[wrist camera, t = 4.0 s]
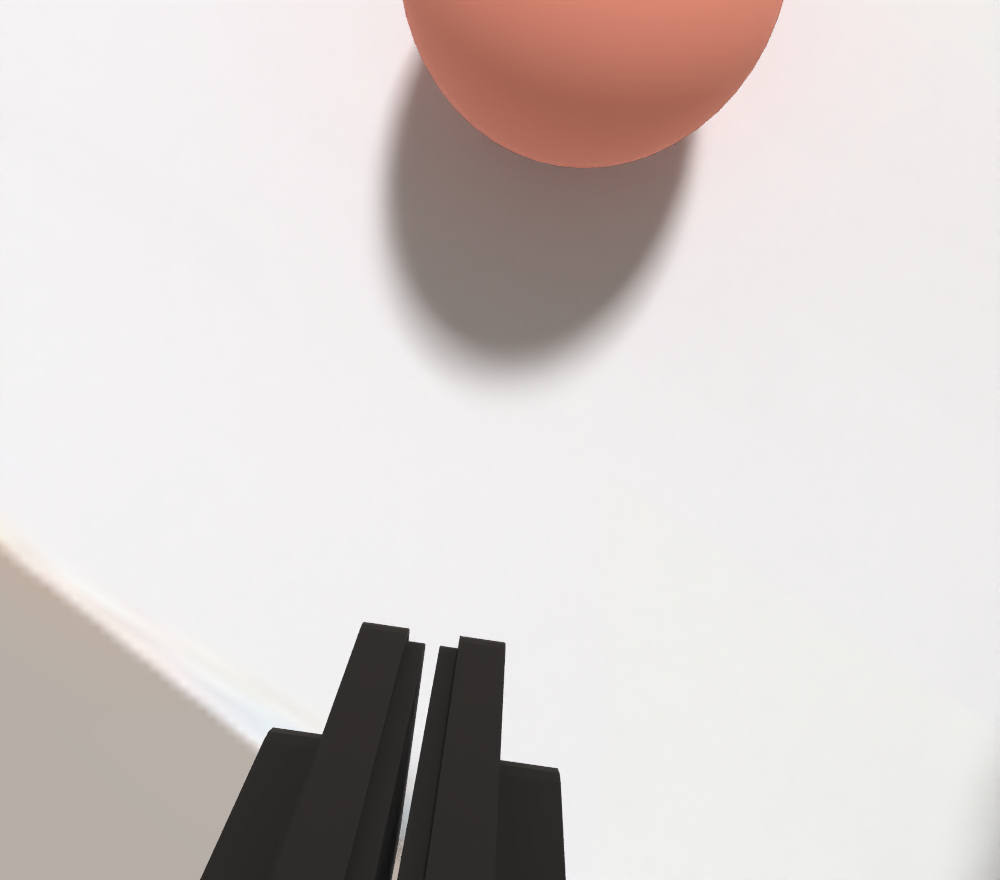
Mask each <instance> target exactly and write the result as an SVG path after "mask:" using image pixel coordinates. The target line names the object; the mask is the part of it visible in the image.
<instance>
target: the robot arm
mask: <svg viewBox="0 0 1000 880" xmlns="http://www.w3.org/2000/svg"><path fill="white" fill-rule="evenodd" d="M424 652H425V644H424V643H417V642H410V641H409V628H402V627H395V626H388V625H381V624H374V623H367V622H363V623H362V626H361V628H360V631H359V634H358V636H357V639H356V642H355V645H354V648H353V650H352V653H351V656H350V659H349V661H348V664H347V667H346V670H345V673H344V675H343V678H342V681H341V684H340V687H339V689H338V692H337V695H336V698H335V700H334V703H333V706H332V709H331V712H330V714H329V717H328V720H327V723H326V726H325V728H324V731H323V734H315V733H308V732H301V731H294V730H287V729H280V728H272V729H271V730H270V731H269V732H268V734H267V736H266V737H265V739H264V741H263V743H262V745H261V748H260V750H259V752H258V754H257V756H256V759H255V761H254V763H253V765H252V767H251V770H250V772H249V774H248V776H247V778H246V781H245V783H244V785H243V787H242V789H241V791H240V794H239V796H238V798H237V800H236V802H235V805H234V807H233V809H232V811H231V814H230V816H229V818H228V820H227V822H226V824H225V827H224V829H223V831H222V833H221V836H220V838H219V840H218V842H217V844H216V846H215V849H214V851H213V853H212V855H211V857H210V860H209V862H208V864H207V866H206V868H205V870H204V873H203V875H202V877H201V879H200V880H391V879H392V874H393V869H394V864H395V858H396V853H397V847H398V841H399V834H400V828H401V821H402V813H403V806H404V799H405V791H406V784H407V777H408V769H409V762H410V755H411V748H412V740H413V733H414V726H415V718H416V711H417V704H418V696H419V689H420V682H421V674H422V667H423V660H424ZM504 666H505V643H504V642H498V641H491V640H484V639H477V638H470V637H463V636H460V639H459V645H458V648H452V647H445V646H440V648H439V653H438V659H437V664H436V670H435V675H434V681H433V686H432V692H431V697H430V703H429V708H428V714H427V719H426V725H425V730H424V736H423V741H422V747H421V752H420V758H419V763H418V769H417V774H416V780H415V785H414V791H413V796H412V802H411V807H410V813H409V818H408V824H407V829H406V835H405V840H404V845H403V851H402V856H401V862H400V867H399V873H398V878H397V880H566V877H565V858H564V838H563V819H562V800H561V782H560V773H559V771H558V768H551V767H544V766H537V765H530V764H524V763H517V762H510V761H503V760H500V751H501V730H502V709H503V688H504Z"/></svg>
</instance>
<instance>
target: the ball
mask: <svg viewBox="0 0 1000 880" xmlns="http://www.w3.org/2000/svg"><path fill="white" fill-rule="evenodd" d="M403 3H404V8H405V13H406V17H407V20H408V24H409V27H410V30H411V33H412V36H413V39H414V42H415V44H416V46H417V49H418V51H419V53H420V55H421V57H422V59H423V62H424V64H425V66H426V68H427V69H428V71H429V73H430V74H431V76H432V78H433V79H434V81H435V82H436V84H437V86H438V87H439V89H440V90H441V92H442V93H443V94H444V96H445V97H446V98H447V99H448V100H449V102H450V103H451V104H452V105H453V107H454V108H455V109H456V110H457V111H458V112H459V113H460V114H461V115H462V116H463V117H464V118H465V119H466V120H467V121H468V122H469V123H470V124H471V125H472V126H473V127H474V128H476V129H477V130H479V131H480V132H481V133H483V134H484V135H485V136H487V137H488V138H490V139H491V140H492V141H494V142H496V143H497V144H499V145H501V146H503V147H505V148H507V149H508V150H510V151H512V152H514V153H516V154H519V155H522V156H524V157H527V158H530V159H532V160H535V161H539V162H543V163H547V164H552V165H556V166H563V167H575V168H594V167H608V166H613V165H619V164H624V163H629V162H632V161H635V160H638V159H641V158H644V157H647V156H650V155H653V154H655V153H657V152H659V151H661V150H663V149H665V148H667V147H669V146H671V145H674V144H675V143H677V142H678V141H680V140H681V139H683V138H684V137H686V136H688V135H689V134H691V133H692V132H694V131H695V130H697V129H698V128H699V127H700V126H702V125H703V124H704V123H705V122H706V121H708V120H709V119H710V118H711V117H712V116H713V115H715V114H716V113H717V112H718V111H719V110H720V109H721V108H722V107H723V106H724V105H725V104H726V103H727V102H728V100H729V99H730V98H731V97H732V96H733V95H734V94H735V93H736V92H737V91H738V89H739V88H740V86H741V85H742V84H743V82H744V81H745V80H746V78H747V77H748V75H749V74H750V73H751V71H752V70H753V68H754V67H755V65H756V63H757V61H758V60H759V58H760V56H761V54H762V52H763V51H764V49H765V47H766V45H767V43H768V41H769V38H770V36H771V34H772V31H773V29H774V26H775V24H776V22H777V19H778V16H779V13H780V10H781V6H782V3H783V0H403Z"/></svg>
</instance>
